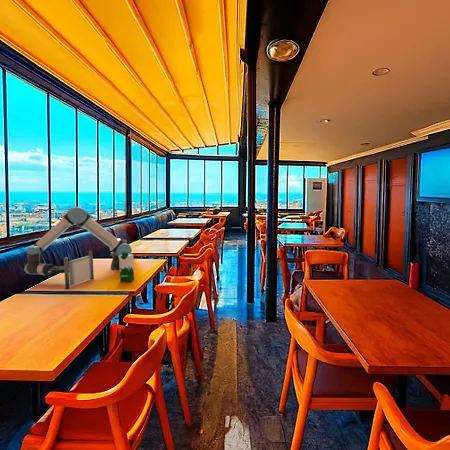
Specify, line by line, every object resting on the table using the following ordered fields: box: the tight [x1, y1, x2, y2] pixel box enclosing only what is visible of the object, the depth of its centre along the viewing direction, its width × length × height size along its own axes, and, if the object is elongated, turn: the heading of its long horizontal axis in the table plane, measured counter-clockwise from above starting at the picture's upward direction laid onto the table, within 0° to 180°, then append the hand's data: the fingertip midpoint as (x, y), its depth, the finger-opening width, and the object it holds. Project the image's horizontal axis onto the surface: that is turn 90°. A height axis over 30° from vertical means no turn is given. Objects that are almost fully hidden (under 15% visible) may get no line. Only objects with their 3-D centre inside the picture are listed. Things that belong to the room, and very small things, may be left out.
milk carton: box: [119, 252, 135, 283], centre depth 232 cm, size 9×9×20 cm
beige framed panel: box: [68, 255, 92, 287], centre depth 227 cm, size 19×2×16 cm, turn 166°
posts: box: [63, 250, 95, 290], centre depth 226 cm, size 27×2×20 cm, turn 166°
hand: (75, 270), depth 226 cm, fingers closed
